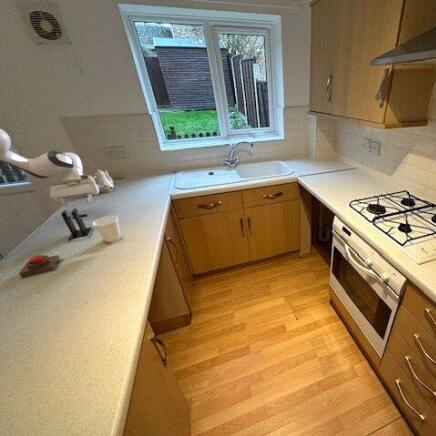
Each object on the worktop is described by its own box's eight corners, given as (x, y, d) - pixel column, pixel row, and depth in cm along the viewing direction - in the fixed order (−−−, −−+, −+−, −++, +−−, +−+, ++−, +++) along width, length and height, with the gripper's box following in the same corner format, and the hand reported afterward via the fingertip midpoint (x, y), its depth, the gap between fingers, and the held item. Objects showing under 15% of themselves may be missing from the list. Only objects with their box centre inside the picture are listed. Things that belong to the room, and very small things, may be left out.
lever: (73, 220, 126) (72, 215, 126) (87, 217, 128) (86, 213, 128) (61, 217, 114) (60, 213, 114) (77, 215, 117) (76, 210, 117)
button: (29, 265, 96) (26, 262, 95) (33, 259, 99) (31, 256, 98) (42, 262, 97) (40, 259, 96) (45, 257, 100) (43, 253, 100)
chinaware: (107, 186, 193) (97, 165, 185) (126, 183, 191) (117, 163, 183) (79, 200, 168) (65, 177, 160) (100, 197, 167) (88, 174, 159)
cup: (114, 246, 113) (105, 226, 107) (96, 245, 114) (86, 225, 109) (130, 235, 121) (122, 216, 116) (113, 234, 123) (104, 215, 117)
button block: (22, 277, 95) (16, 270, 93) (30, 266, 101) (25, 258, 99) (54, 270, 98) (49, 262, 97) (60, 259, 105) (56, 251, 103)
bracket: (74, 232, 125) (61, 208, 119) (92, 228, 128) (81, 205, 122) (68, 242, 117) (54, 217, 111) (88, 237, 120) (76, 213, 114)
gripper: (45, 181, 123) (48, 205, 120) (93, 175, 131) (97, 197, 128) (53, 187, 129) (55, 210, 125) (98, 180, 136) (102, 202, 133)
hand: (77, 203), depth 127 cm, fingers open, 8 cm apart
